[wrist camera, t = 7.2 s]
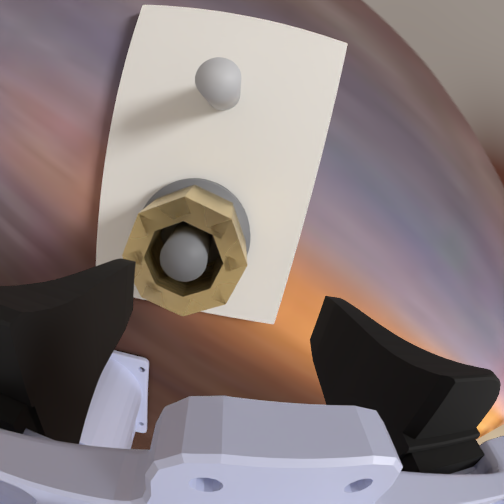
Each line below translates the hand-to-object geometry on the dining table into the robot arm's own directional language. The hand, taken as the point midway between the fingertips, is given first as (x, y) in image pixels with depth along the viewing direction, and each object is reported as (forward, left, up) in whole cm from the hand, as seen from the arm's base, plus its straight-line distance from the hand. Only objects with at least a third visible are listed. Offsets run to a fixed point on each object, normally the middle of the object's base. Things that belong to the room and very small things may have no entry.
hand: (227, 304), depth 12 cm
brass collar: (0, +2, -7) cm, 7 cm away
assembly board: (+4, +2, -8) cm, 10 cm away
